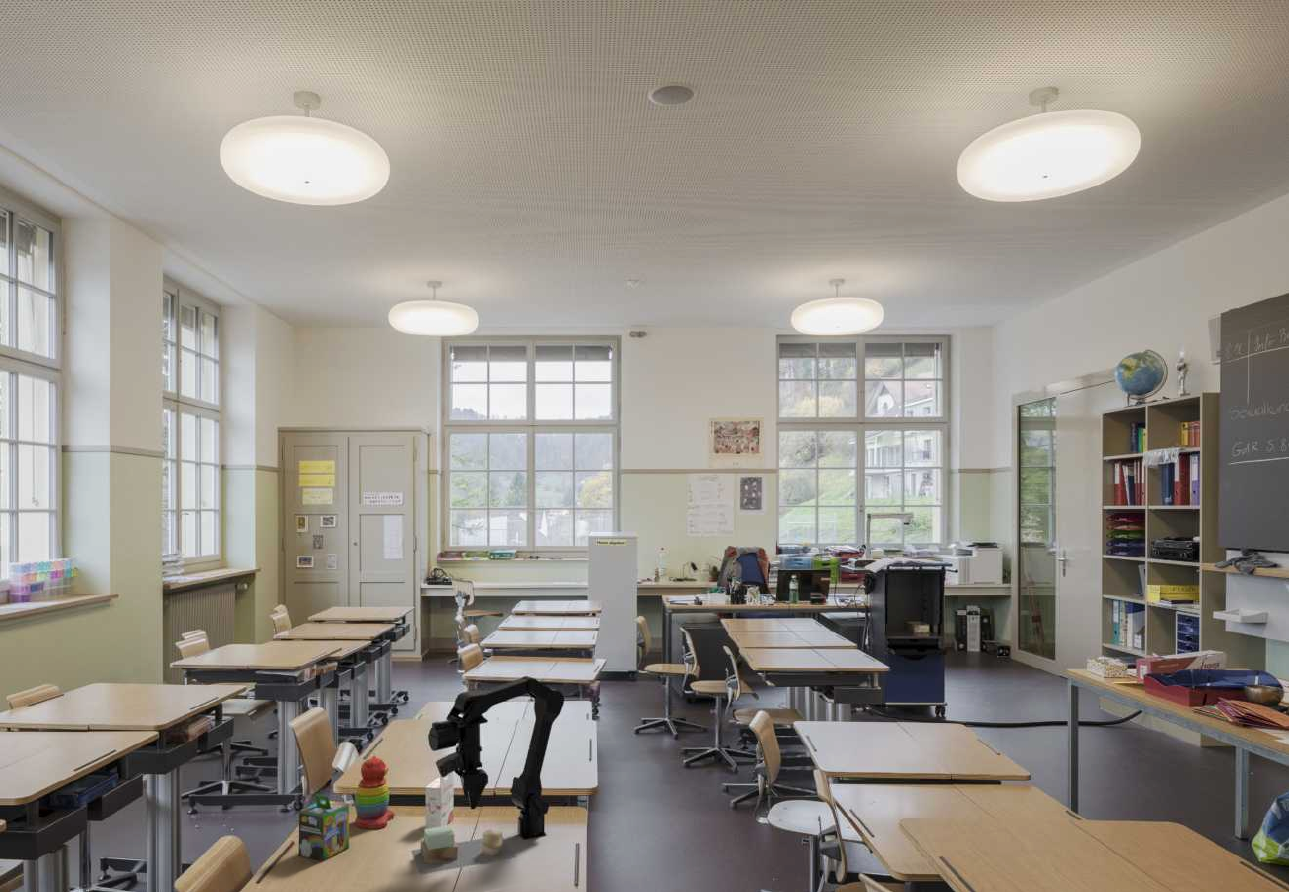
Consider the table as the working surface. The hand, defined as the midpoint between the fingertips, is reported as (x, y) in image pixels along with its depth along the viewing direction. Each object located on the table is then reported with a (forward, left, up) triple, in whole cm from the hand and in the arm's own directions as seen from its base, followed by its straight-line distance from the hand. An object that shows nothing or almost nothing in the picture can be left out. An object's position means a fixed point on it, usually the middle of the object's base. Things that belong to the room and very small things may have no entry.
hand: (469, 803), depth 215 cm
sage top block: (+8, -1, -9) cm, 12 cm away
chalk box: (+35, -17, -13) cm, 41 cm away
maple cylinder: (-5, +3, -12) cm, 14 cm away
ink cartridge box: (+4, -23, -13) cm, 27 cm away
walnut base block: (+8, -1, -12) cm, 15 cm away
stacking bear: (+21, -33, -13) cm, 41 cm away
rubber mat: (+2, +1, -13) cm, 13 cm away
